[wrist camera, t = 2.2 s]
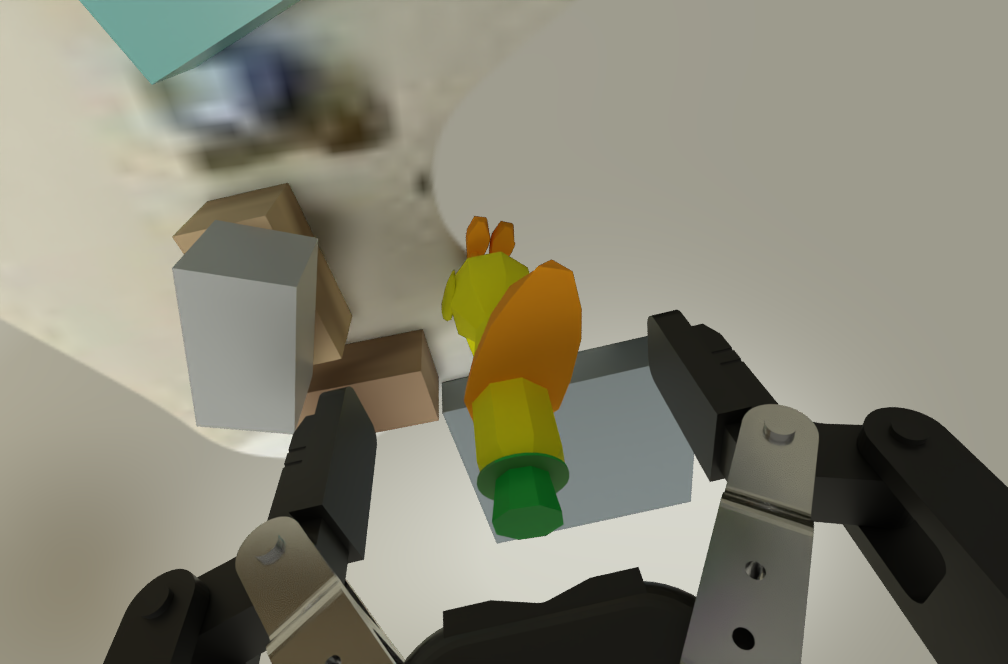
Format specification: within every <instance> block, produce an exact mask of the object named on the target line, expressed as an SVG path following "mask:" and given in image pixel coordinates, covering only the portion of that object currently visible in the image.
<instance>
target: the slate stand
mask: <svg viewBox="0 0 1008 664" xmlns="http://www.w3.org/2000/svg"><path fill="white" fill-rule="evenodd" d="M467 381H468V377H466V378H462V379H458V380H453V381H449V382H444V383H442V410H443V411H442V413H443V415H444V418H445V420H446V423H447V425H448V427H449V430H450V432H451V434H452V437H453V439H454V441H455V444H456V447H457V449H458V451H459V454H460V456H461V459H462V461H463V463H464V466H465V468H466V470H467V473H468V475H469V478H470V480H471V483H472V485H473V487H474V490H475V492H476V495H477V497H478V499H479V502H480V504H481V507H482V509H483V511H484V514H485V516H486V519H487V521H488V523H489V526H490V528H491V530H492V533H493V535H494V538H495V540H496V542H497V543H501V542H507V541H511V540H515V539H513V538H509V537H505V536H500V535H496V532H495V529H494V527H493V524H492V515H493V505H494V501H493V500H491V499H489V498H487V497H485V496H484V495H482V494H481V492H480V491H479V490H478V487H477V477H478V475H479V473H480V471H479V468H478V465H477V459H476V446H475V434H474V423H473V420H472V418H471V416H470V414H469V412H468V409H467V407H466V405H465V403H464V396H465V390H466V385H467ZM554 416H555V420H556V424H557V428H558V432H559V435H560V439H561V443H562V447H563V453H564V460H565V464H566V465H567V467H568V469H569V480H568V482H567V484H566V485H565V486H564V487H563V489H561V490H560V491H559V492H557V493H556V495H557V498H558V501H559V504H560V507H561V510H562V515H563V522H564V525H562V526H561V527H559V528H557V529H556V530H554V531H557V530H562V529H566V528H571V527H576V526H580V525H585V524H589V523H594V522H599V521H603V520H608V519H613V518H617V517H622V516H627V515H631V514H636V513H640V512H644V511H649V510H654V509H659V508H663V507H668V506H673V505H677V504H682V503H687V502H690V501H691V491H692V490H691V489H692V475H693V461H694V452H693V451H692V449H691V447H690V445H689V443H688V442H687V440H686V438H685V436H684V434H683V433H682V431H681V429H680V427H679V425H678V424H677V422H676V420H675V418H674V416H673V415H672V413H671V411H670V409H669V408H668V406H667V404H666V402H665V400H664V399H663V397H662V395H661V393H660V391H659V390H658V388H657V386H656V384H655V382H654V380H653V378H652V375H651V372H650V368H649V363H648V336H646V337H641V338H636V339H632V340H628V341H623V342H619V343H615V344H610V345H606V346H602V347H597V348H593V349H589V350H584V351H580V352H578V354H577V358H576V362H575V366H574V370H573V374H572V378H571V381H570V384H569V386H568V388H567V391H566V393H565V396H564V398H563V401H562V403H561V405H560V408H559V410H557V411H555V412H554Z"/></svg>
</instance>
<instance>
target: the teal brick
mask: <svg viewBox="0 0 1008 664" xmlns="http://www.w3.org/2000/svg"><path fill="white" fill-rule="evenodd" d="M79 1H80V2H81V3H82V4H83V5H84V6H85V8H86V9H87V10H88V11H89V12H90V13H91V15H92V16H93V17H94V18H95V19H96V20H97V22H98V23H99V24H100V25H101V26H102V27H103V29H104V30H105V31H106V32H107V33H108V34H109V35H110V37H111V38H112V39H113V40H114V41H115V42H116V44H117V45H118V46H119V47H120V48H121V49H122V51H123V52H124V53H125V54H126V55H127V56H128V58H129V59H130V60H131V61H132V62H133V63H134V65H135V66H136V67H137V68H138V69H139V70H140V72H141V73H142V74H143V75H144V76H145V77H146V79H147V80H148V81H149V82H150V83H151V84H152V85H153V84H155V83H158V82H160V81H163V80H165V79H168V78H170V77H173V76H175V75H178V74H180V73H183V72H185V71H188V70H190V69H193V68H195V67H197V66H198V65H200V64H201V63H203V62H205V61H206V60H208V59H209V58H211V57H212V56H214V55H216V54H217V53H219V52H220V51H222V50H223V49H225V48H226V47H228V46H230V45H231V44H233V43H234V42H236V41H237V40H239V39H241V38H242V37H244V36H245V35H247V34H248V33H250V32H252V31H253V30H255V29H256V28H258V27H259V26H261V25H262V24H264V23H266V22H267V21H269V20H270V19H272V18H273V17H275V16H277V15H278V14H280V13H281V12H283V11H284V10H286V9H288V8H289V7H291V6H292V5H294V4H295V3H297V2H298V1H300V0H79Z"/></svg>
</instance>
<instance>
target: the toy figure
mask: <svg viewBox="0 0 1008 664" xmlns="http://www.w3.org/2000/svg"><path fill="white" fill-rule="evenodd" d="M489 242H490V247H489V254H486V255H484V254H485V252H486V250H487V248H488V246H489ZM514 246H515V242H514V226H513V224H512V223H508V222H503V221H501V222H500V223H499V224H498V226H497V227H496V228H495V230H494V231H493V233H492V235H491V239H490V234H489V228H488V222H487V218H486V217H478V216H474V218H473V219H472V221H471V223H470V225H469V226H468V228H467V233H466V248H467V260H466V261H465V262H464V264H463V265H462V267H461V268H460V269H459V271H458V272H457V273H456V275H455V271H454V270H453V271H452V273H451V275H450V277H449V279H448V282H447V284H446V288H445V292H444V296H443V300H442V315H443V319H445V320H446V321H449V320H451V318H452V315H453V316H454V320H455V324H456V327H457V331H458V334H459V335H461V336H463V337H465V338H466V339H467V342H468V344H469V347H470V349H471V351H472V354H473V356H474V358H473V362H472V365H471V369H470V373H469V377H468V381H467V385H466V390H465V396H464V403H465V405H466V407H467V409H468V412H469V414H470V416H471V418H472V420H473V423H474V434H475V446H476V459H477V465H478V468H479V471H480V473H479V475H478V477H477V487H478V490H479V491H480V492H481V494H482V495H484V496H485V497H487V498H489V499H491V500H493V501H494V505H493V515H492V524H493V527H494V529H495V532H496V535H500V536H505V537H509V538H513V539H518V540H521V539H527V538H534V537H541V536H546V535H548V534H549V533H551V532H553V531H554V530H556V529H557V528H559V527H561V526H562V525H564V522H563V515H562V510H561V507H560V504H559V501H558V498H557V495H556V493H557V492H559V491H560V490H561V489H563V487H564V486H565V485H566V484H567V482H568V480H569V469H568V467H567V465H566V464H565V460H564V453H563V447H562V443H561V439H560V435H559V432H558V428H557V424H556V420H555V416H554V412H555V411H557V410H559V408H560V405H561V403H562V401H563V398H564V396H565V393H566V391H567V388H568V386H569V384H570V381H571V378H572V374H573V370H574V366H575V362H576V358H577V354H578V350H579V346H580V342H581V324H582V321H581V319H582V313H581V312H582V309H581V304H580V300H579V296H578V292H577V287H576V283H575V279H574V275H573V272H572V271H571V270H569V269H567V268H566V267H564V266H562V265H561V264H559V263H557V262H555V261H554V260H550V261H547V262H545V263H543V264H541V265H539V266H538V267H537V268H536V269H535V270H534V271H532V272H531V273H529V271H528V267H526V266H525V265H523V264H521V263H519V262H518V261H516V260H514V259H513V258H511V257H510V254H511V253H512V251H513V248H514Z"/></svg>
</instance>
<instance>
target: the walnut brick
mask: <svg viewBox="0 0 1008 664" xmlns="http://www.w3.org/2000/svg"><path fill="white" fill-rule="evenodd" d="M348 386H350V387H352V388H353V389H354V391H355V392H356V394H357V396H358V398H359V400H360V402H361V403H362V405H363V407H364V409H365V411H366V412H367V414H368V416H369V418H370V420H371V422H372V424H373V426H374V429H375V433H376V432H381V431H387V430H392V429H397V428H402V427H407V426H412V425H418V424H423V423H428V422H433V421H438V420H439V377H438V374H437V371H436V368H435V365H434V362H433V359H432V356H431V353H430V350H429V347H428V344H427V341H426V338H425V335H424V332H423V329H422V330H416V331H411V332H406V333H401V334H396V335H391V336H386V337H381V338H376V339H370V340H365V341H360V342H355V343H350V344H345V347H344V351H343V355H342V359H338V360H334V361H329V362H325V363H320V364H316V365H313V376H312V379H311V382H310V385H309V389H308V392H307V395H306V398H305V402H304V405H303V408H302V411H301V415H300V418H299V421H298V424H297V428H298V426H299V425H300V423H301V422H302V421H303V419H304V418H305V417H306V416H309V415H313V414H315V410H316V407H317V403H318V399H319V396H320V394H321V393H323V392H327V391H331V390H335V389H340V388H344V387H348ZM297 428H296V429H297Z"/></svg>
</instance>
